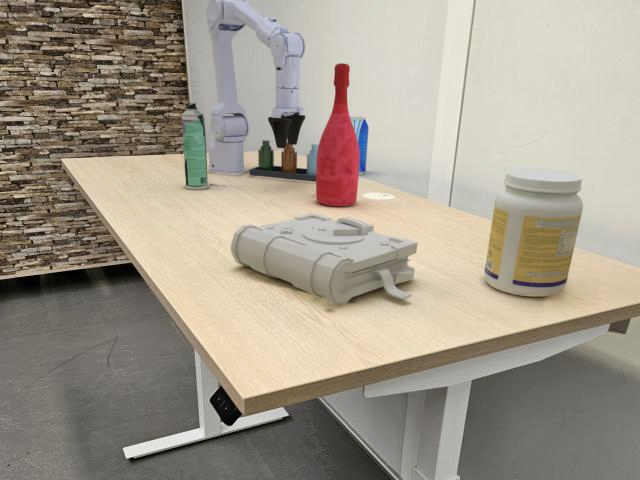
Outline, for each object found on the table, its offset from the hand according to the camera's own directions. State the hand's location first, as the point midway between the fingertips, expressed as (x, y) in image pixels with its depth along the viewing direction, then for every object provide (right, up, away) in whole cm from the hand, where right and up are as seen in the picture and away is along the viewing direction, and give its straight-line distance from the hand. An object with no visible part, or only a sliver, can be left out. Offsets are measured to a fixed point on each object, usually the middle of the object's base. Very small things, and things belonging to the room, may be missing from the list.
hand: (286, 146), depth 145 cm
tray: (0, -4, +17) cm, 17 cm away
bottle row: (-4, -2, +18) cm, 18 cm away
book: (+11, -38, -56) cm, 69 cm away
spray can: (-23, -11, 0) cm, 25 cm away
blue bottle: (+7, -4, +15) cm, 17 cm away
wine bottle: (+12, -17, -10) cm, 23 cm away
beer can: (+17, -1, +24) cm, 30 cm away
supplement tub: (+40, -39, -56) cm, 79 cm away
